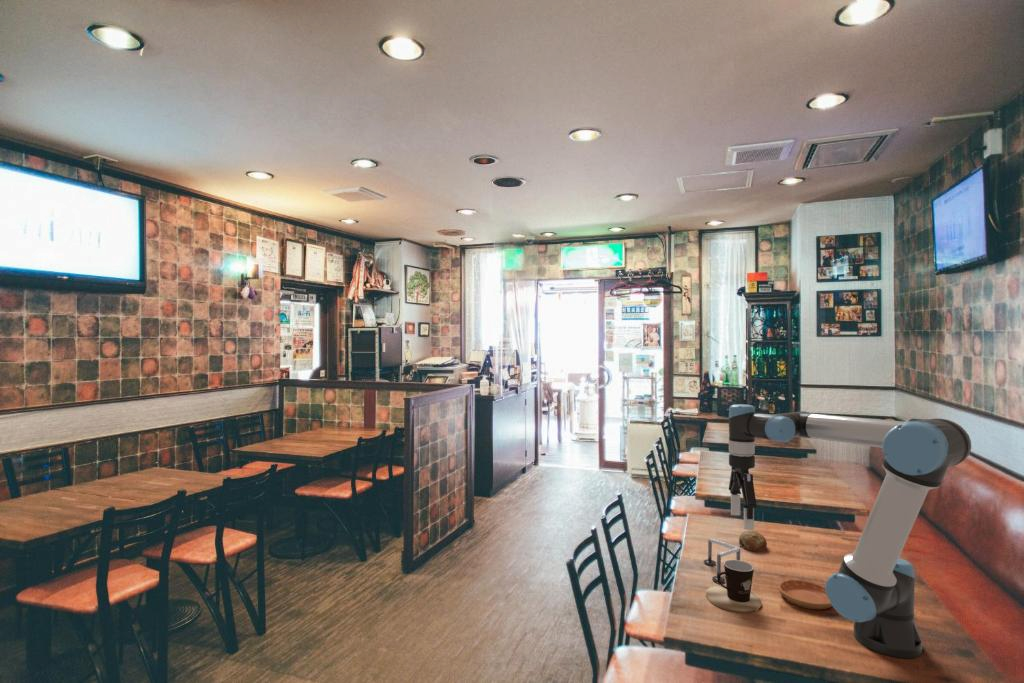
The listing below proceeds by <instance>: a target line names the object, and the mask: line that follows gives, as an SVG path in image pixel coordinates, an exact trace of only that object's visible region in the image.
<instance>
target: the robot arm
mask: <svg viewBox="0 0 1024 683" xmlns="http://www.w3.org/2000/svg"><path fill="white" fill-rule="evenodd" d="M728 411H729V412H728V418H727V419H728V452H729V454H728V465H729V466H730V467H731V472H730V477H729V483H728V484H729V485H728V491H730V515H731V516H741V495H742V498H743V503H744V504H743V505H742V509H743V529H744V530H748V531H755V509H757V508H758V504H757V498H756V492H755V486H754V474H752V473H750V472H749V470H750V469H753V468H755V466H756V457H755V450H756V449H755V447H757V443H755V442H756V439H761V440H767V441H772V442H774V443H775V442H776V443H778V442H780V443H789V442H791V440H792V439H793V438H805V439H815V440H822V441H831V442H836V443H844V444H853V445H859V446H867V447H873V448H874V447H875V448H881V449H882V453H883V455H884V458H883V461H882V464H881V466H882V468H883V470H884V471H885V474H886V475H885V476H884V479H883V481H882V484H881V486H880V488H879V491H878V494H877V496H876V497H875V498H876V499H875V500H874V502H873V505H872V508H871V511H870V513H869V515H868V518H867V520H866V522H865V525H864V528H863V529H862V533H861V535H860V537H859V539H858V542H857V544H856V547H855V549H854V551H853V552H850V553H846V554H845V555H844V557H843V559H842V562H841V564H840V566H839V568H838V571H837V572H835V573H832V574H831V575H830V576H829V577H828V578H827V579H826V581H825V590H826V595H827V597H828V598H829V600H830V603H831V605H832V606H831V607H832V608H834V610H835V611H836V612H837V613H838V614H840V616H842V617H843V618H845V619H847V620H849V621H851V622H854V623H853V636H854V638H855V639H856V640H857V642H859V643H861V644H862V645H863V646H865V647H866V648H868V649H870V650H872V651H875V652H877V653H880V654H882V655H885V654H886V656H889V657H895V658H900V659H913V658H918V657H920V656H921V655H922V652H923V643H922V639H921V637H920V636H921V635H920V634H919V630H918V627H917V625H916V622H915V588H916V587H915V586H916V584H915V580H916V576H915V568H914V565H913V564H912V563H911V562H909V561H908V560H905V559H903V558H901V557H900V556H901V553H902V552H903V549H904V546H906V542H907V540H908V538H909V536H910V533H911V531H912V529H913V527H914V524H915V523H916V520H917V518H918V515H919V513H920V511H921V509H922V507H923V504H924V503H925V500H926V497H927V496H928V493H929V491H930V490H935V489H939V488H940V487H941V485H942V482H943V480H944V477H945V476H946V473H947V471H948V469H949V468H951V467H955V466H958V465H959V464H962V463H963V462H964V461H965V460H966V459H967V458H968V457H969V455H970V453H971V451H972V440H971V438H970V435H969V434H968V432H967V430H965V429H964V427H962V426H961V425H960V424H959V423H957V422H955V421H952V420H949V419H946V418H927V419H926V418H914V417H913V418H909V419H907V420H906V421H902V420H901V421H900V420H889V419H879V418H878V419H877V418H868V417H857V416H845V415H834V414H832V415H831V414H824V413H823V414H822V413H811V412H809V411H803V410H801V411H793V412H785V413H773V414H769V413H758V412H756V408H755V406H754V405H751V404H744V403H743V404H740V403H739V404H738V403H737V404H732V405H730V406H729V408H728Z"/></svg>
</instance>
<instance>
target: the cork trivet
mask: <svg viewBox="0 0 1024 683" xmlns="http://www.w3.org/2000/svg"><path fill="white" fill-rule="evenodd" d="M723 585H724V586H725V587H726V584H723ZM705 593H706V594H705V595H706V596H705V597H706V599H707V601H708V602H710V603H711V604H712V603H713V604H712V605H714V606H715V607H718V608H720V609H722V610H725V609H726V611H729V612H732V613H733V612H735V613H743V614H744V613H747V612H748V613H754V612H757V611H759V610H760V609H761V608H762V599H761V597H759V595H757V594H756V593H755V592H753V591H751V593H750V600H749V601H748V602H736V601H733V600H731V599H730V598H728V595H727V589H725V588H724V587H722V586H721V585H720V584H718V585H717V584H716V585H713V586H710V587H708V588H707V589H706V592H705ZM760 607H761V608H760ZM759 608H760V609H759ZM758 609H759V610H758ZM756 610H757V611H756ZM753 611H754V612H753Z"/></svg>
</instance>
